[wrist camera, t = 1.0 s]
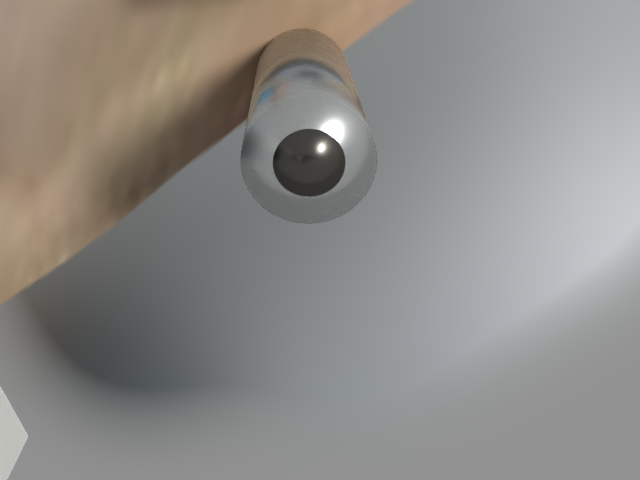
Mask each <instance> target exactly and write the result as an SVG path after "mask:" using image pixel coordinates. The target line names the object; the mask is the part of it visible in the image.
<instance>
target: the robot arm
mask: <svg viewBox="0 0 640 480" xmlns="http://www.w3.org/2000/svg"><path fill="white" fill-rule="evenodd" d="M27 438H28V435H27V433H26V431H25V429H24V428H23V426H22V424H21V422H20V420H19V419H18V417H17V415H16V413H15V411H14V410H13V408H12V406H11V404H10V403H9V401H8V399H7V397H6V395H5V393H4V392H3V390H2V388H1V386H0V480H7V479H8V477H9V475H10V473H11V471H12V469H13V467H14V465H15V463H16V461H17V459H18V457H19V455H20V453H21V451H22V449H23V447H24V444H25V442H26V441H27Z"/></svg>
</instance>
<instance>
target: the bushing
mask: <svg viewBox="0 0 640 480" xmlns="http://www.w3.org/2000/svg"><path fill="white" fill-rule="evenodd" d="M376 167H377V152H376V146H375V142H374V140H373V136H372V133H371V131H370V128H369V125H368V122H367V119H366V116H365V113H364V111H363V108H362V105H361V102H360V99H359V96H358V93H357V91H356V88H355V85H354V82H353V79H352V76H351V73H350V70H349V68H348V65H347V62H346V59H345V57H344V55H343V52H342V51H341V49H340V48H339V46H338V45H337V44H336V43H335V42H334V41H333V40H332V39H331V38H329V37H328V36H326V35H324V34H322V33H320V32H318V31H315V30H310V29H294V30H290V31H287V32H284V33H282V34H280V35H278V36H277V37H276V38H274V39H273V40H272V41H271V42H270V43H269V44H268V45H267V46H266V48H265V49H264V51H263V52H262V54H261V57H260V59H259V62H258V66H257V71H256V77H255V82H254V87H253V92H252V98H251V103H250V108H249V113H248V119H247V124H246V129H245V135H244V140H243V145H242V151H241V170H242V175H243V178H244V181H245V184H246V186H247V188H248V190H249V192H250V193H251V195H252V196H253V198H254V199H255V200H256V201H257V202H258V203H259V204H260V205H261V206H262V207H263V208H264V209H266V210H267V211H268V212H270V213H271V214H273V215H275V216H277V217H279V218H282V219H284V220H287V221H291V222H296V223H307V224H312V223H321V222H326V221H329V220H332V219H335V218H337V217H340V216H342V215H343V214H345V213H347V212H348V211H350V210H351V209H352V208H354V207H355V206H356V205H357V204H358V203H359V202H360V201H361V200H362V199H363V198H364V196H365V195H366V194H367V192H368V190H369V189H370V187H371V185H372V182H373V180H374V177H375V172H376Z"/></svg>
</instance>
